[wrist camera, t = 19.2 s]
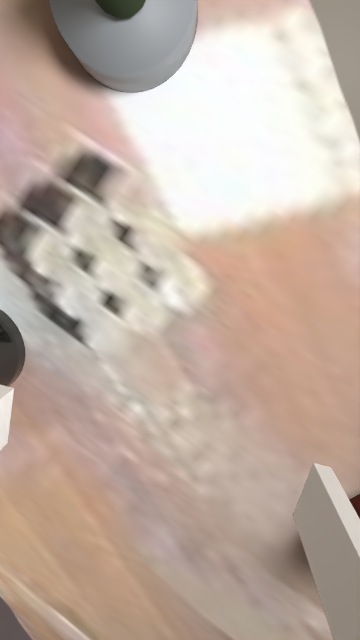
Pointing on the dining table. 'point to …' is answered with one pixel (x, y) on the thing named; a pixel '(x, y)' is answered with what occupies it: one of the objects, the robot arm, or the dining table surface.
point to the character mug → (121, 7)
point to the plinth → (128, 40)
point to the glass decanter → (356, 504)
